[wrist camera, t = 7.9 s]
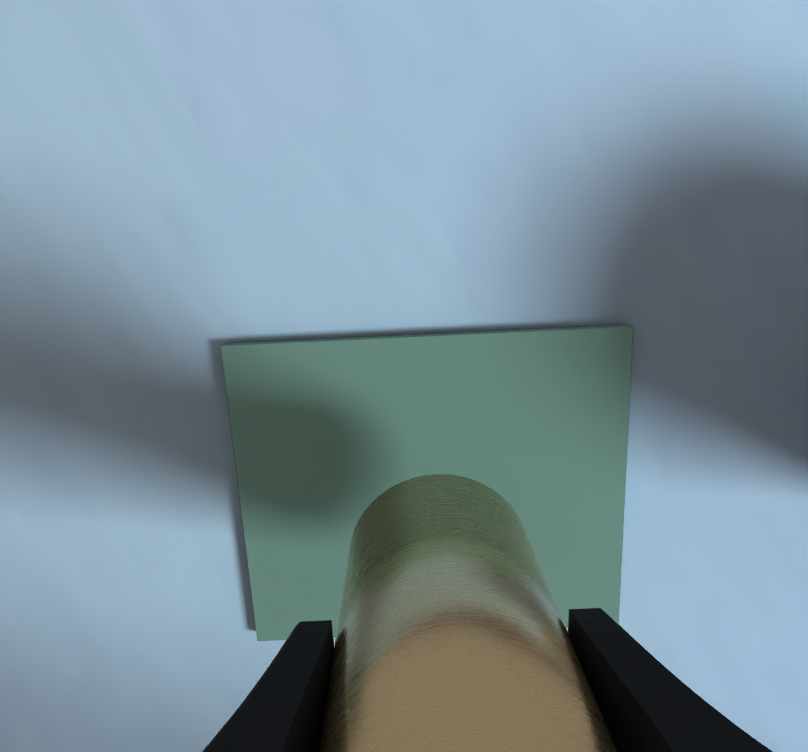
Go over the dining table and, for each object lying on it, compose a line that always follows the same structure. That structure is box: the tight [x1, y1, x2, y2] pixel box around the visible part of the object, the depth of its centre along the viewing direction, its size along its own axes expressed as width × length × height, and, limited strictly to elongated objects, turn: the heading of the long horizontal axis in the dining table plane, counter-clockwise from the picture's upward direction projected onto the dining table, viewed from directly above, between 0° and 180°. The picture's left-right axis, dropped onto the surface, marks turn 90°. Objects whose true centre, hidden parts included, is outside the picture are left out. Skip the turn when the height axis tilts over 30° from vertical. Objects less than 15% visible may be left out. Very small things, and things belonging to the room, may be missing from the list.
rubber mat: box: [221, 325, 633, 641], centre depth 18 cm, size 12×10×1 cm
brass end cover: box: [319, 474, 617, 752], centre depth 11 cm, size 4×4×8 cm
